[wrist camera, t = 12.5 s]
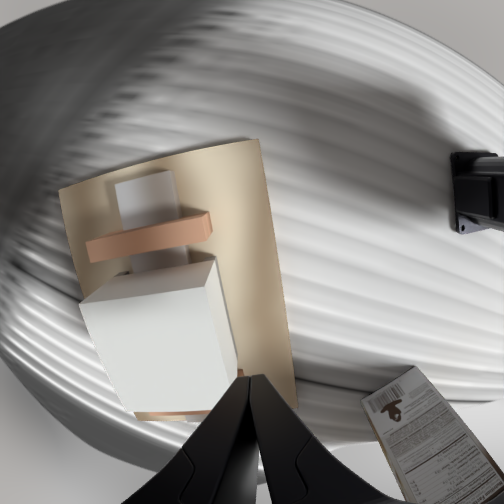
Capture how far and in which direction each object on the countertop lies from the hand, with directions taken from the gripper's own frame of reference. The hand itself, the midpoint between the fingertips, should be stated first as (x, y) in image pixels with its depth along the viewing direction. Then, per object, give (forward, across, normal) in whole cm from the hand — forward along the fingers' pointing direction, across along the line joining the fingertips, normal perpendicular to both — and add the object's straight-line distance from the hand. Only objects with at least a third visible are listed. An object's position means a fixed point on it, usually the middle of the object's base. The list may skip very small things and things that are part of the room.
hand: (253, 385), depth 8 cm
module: (+10, +5, +2) cm, 11 cm away
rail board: (+11, +5, +2) cm, 12 cm away
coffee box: (+12, -12, +17) cm, 23 cm away
